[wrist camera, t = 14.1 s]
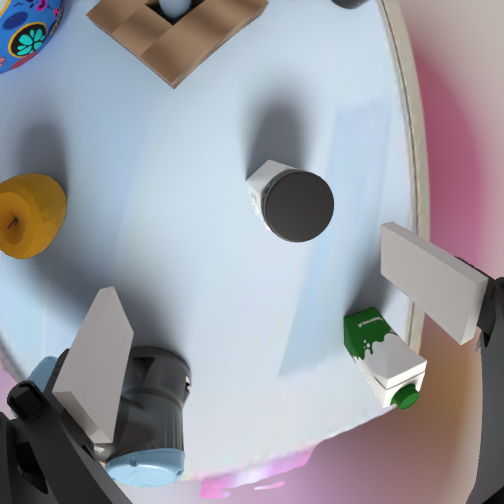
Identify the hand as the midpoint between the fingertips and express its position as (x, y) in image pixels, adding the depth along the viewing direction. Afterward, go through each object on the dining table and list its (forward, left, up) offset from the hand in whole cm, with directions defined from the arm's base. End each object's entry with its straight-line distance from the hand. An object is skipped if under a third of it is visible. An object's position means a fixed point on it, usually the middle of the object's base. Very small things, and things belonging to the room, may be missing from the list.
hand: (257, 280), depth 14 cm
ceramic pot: (-1, +41, -31) cm, 51 cm away
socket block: (+14, +22, -31) cm, 40 cm away
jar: (+5, -7, -31) cm, 32 cm away
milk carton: (-1, -39, -31) cm, 50 cm away
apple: (-19, +18, -31) cm, 40 cm away
